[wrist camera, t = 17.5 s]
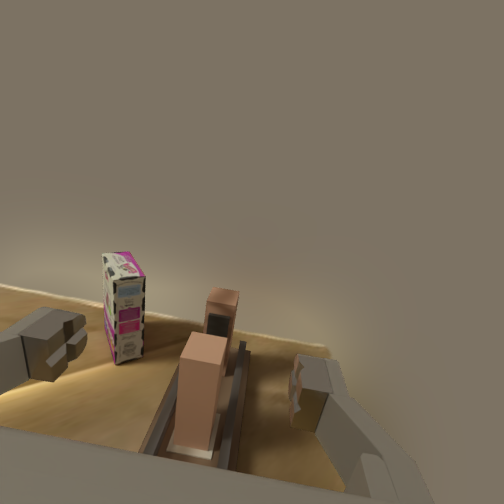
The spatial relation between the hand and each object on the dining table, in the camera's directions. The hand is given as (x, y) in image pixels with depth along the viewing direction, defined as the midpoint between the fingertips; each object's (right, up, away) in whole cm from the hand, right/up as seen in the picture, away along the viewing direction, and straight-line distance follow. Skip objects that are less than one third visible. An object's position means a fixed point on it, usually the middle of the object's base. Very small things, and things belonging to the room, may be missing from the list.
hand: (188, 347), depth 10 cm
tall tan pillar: (-5, -20, +25) cm, 33 cm away
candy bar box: (-22, -14, +40) cm, 48 cm away
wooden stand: (-5, -20, +31) cm, 37 cm away
